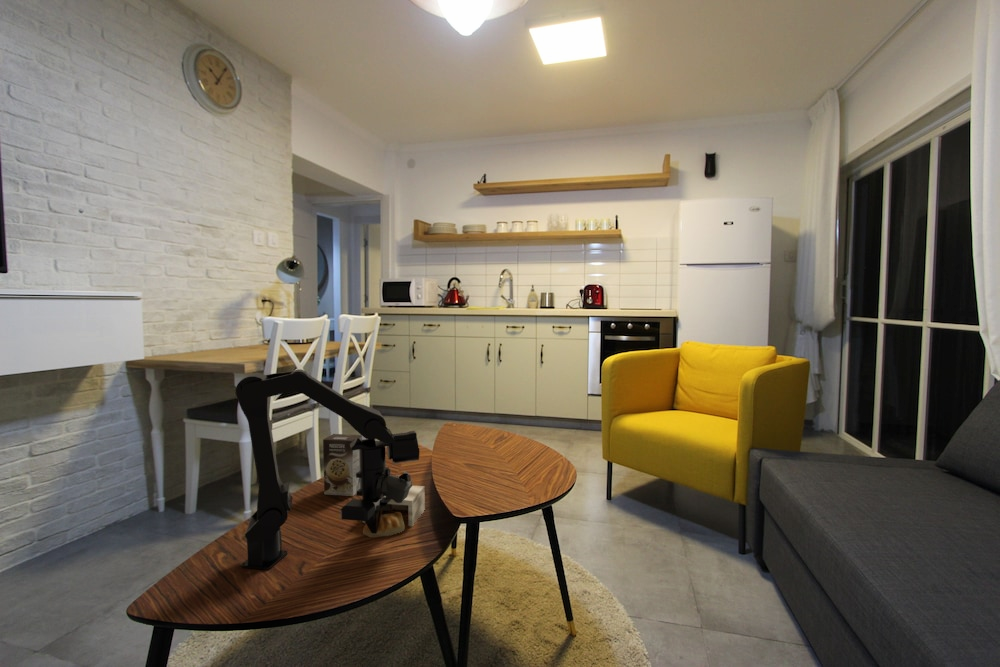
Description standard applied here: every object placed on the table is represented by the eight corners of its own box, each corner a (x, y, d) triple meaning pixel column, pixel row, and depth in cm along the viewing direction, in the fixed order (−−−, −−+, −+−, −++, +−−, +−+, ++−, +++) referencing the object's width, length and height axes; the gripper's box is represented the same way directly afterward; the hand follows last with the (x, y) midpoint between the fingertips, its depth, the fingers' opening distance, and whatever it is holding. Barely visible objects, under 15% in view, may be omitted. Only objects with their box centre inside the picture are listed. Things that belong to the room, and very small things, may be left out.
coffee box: (323, 495, 128) (321, 439, 127) (334, 486, 134) (333, 433, 133) (353, 496, 127) (352, 440, 126) (363, 487, 133) (362, 434, 132)
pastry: (367, 543, 102) (366, 526, 102) (359, 530, 108) (359, 515, 107) (407, 532, 107) (406, 516, 106) (398, 521, 112) (397, 506, 112)
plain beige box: (412, 526, 109) (412, 500, 109) (362, 522, 111) (362, 497, 111) (424, 510, 118) (424, 486, 118) (378, 506, 120) (378, 483, 120)
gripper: (388, 483, 91) (390, 558, 92) (420, 454, 110) (422, 517, 111) (338, 480, 93) (340, 553, 94) (378, 452, 112) (379, 513, 113)
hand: (374, 532), depth 103 cm, fingers closed
